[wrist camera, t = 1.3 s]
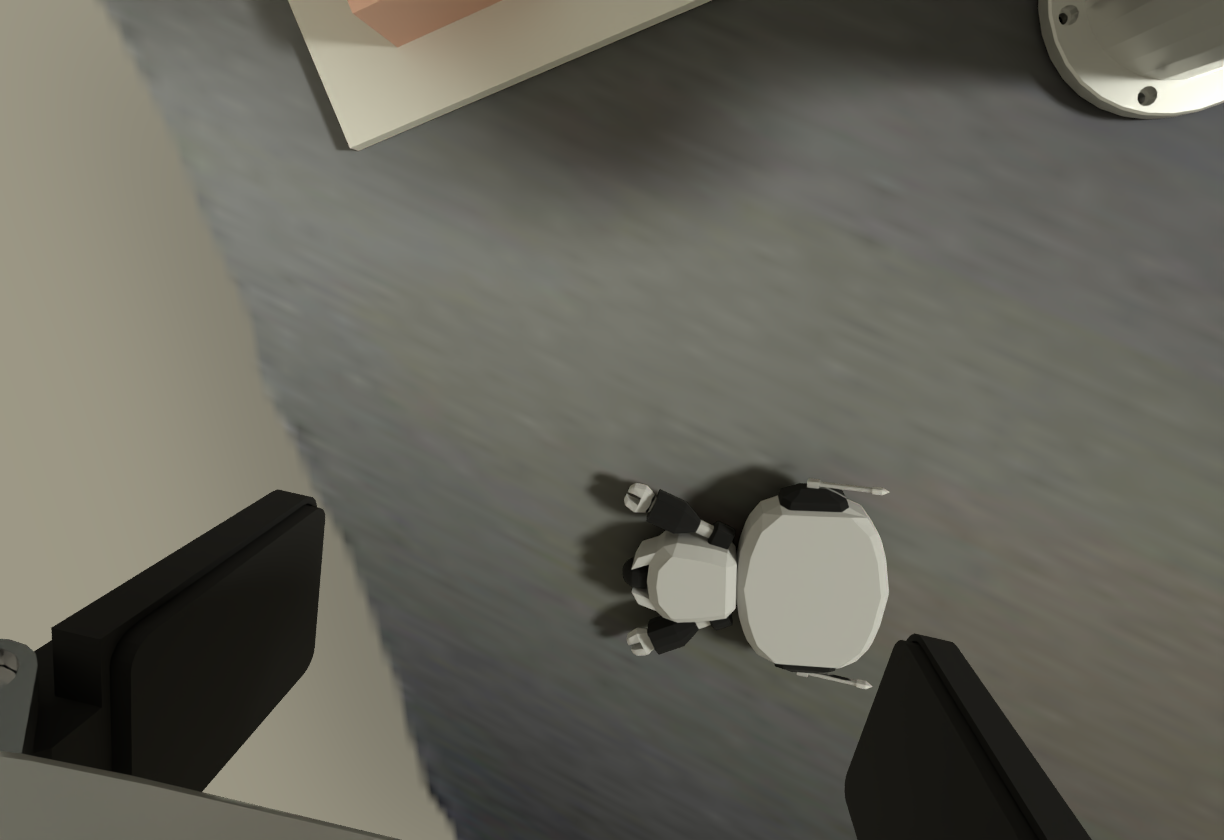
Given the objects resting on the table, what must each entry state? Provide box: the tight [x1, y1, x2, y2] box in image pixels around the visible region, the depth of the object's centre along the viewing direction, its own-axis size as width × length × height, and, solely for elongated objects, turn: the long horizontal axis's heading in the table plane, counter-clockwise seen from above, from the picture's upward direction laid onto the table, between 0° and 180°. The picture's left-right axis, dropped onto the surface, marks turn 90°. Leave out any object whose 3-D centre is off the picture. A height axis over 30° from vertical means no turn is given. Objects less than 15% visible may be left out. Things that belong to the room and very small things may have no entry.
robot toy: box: [623, 478, 890, 689], centre depth 39 cm, size 12×4×15 cm
